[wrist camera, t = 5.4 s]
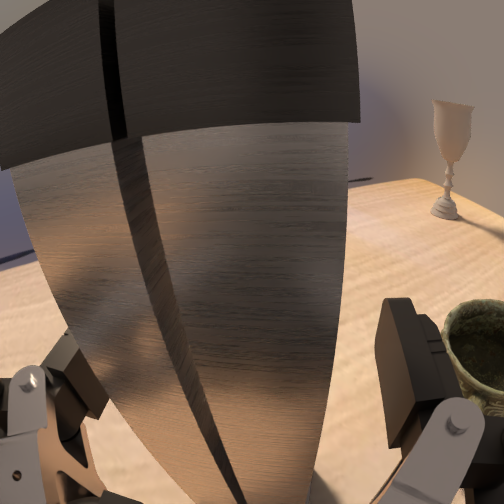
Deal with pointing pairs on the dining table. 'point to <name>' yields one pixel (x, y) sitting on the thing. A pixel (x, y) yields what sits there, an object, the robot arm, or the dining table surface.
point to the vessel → (478, 352)
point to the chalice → (450, 147)
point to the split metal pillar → (193, 218)
